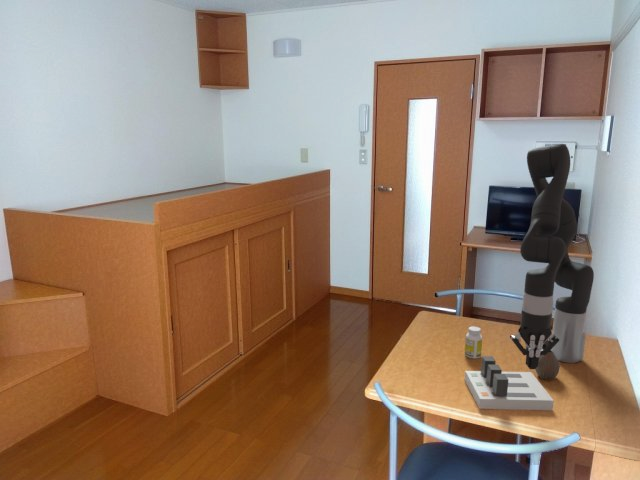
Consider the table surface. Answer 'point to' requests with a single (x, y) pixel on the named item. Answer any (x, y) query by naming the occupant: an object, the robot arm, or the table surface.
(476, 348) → the supplement bottle
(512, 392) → the breaker panel
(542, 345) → the robot arm
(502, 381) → the block
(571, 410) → the table surface
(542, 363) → the vase
